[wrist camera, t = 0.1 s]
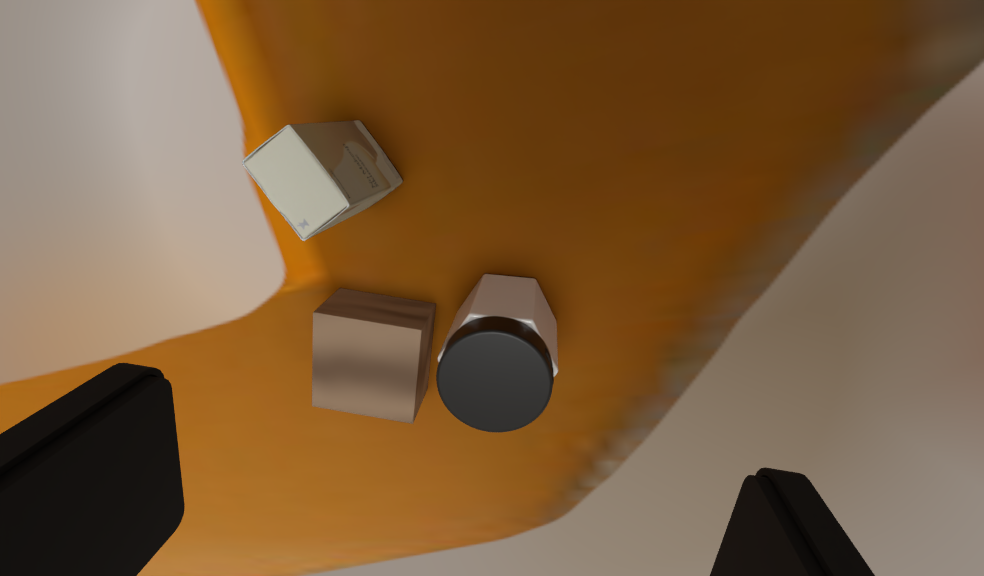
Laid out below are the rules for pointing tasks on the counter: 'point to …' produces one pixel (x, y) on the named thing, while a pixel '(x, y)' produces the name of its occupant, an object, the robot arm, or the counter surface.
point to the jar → (499, 355)
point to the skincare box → (321, 173)
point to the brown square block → (372, 354)
